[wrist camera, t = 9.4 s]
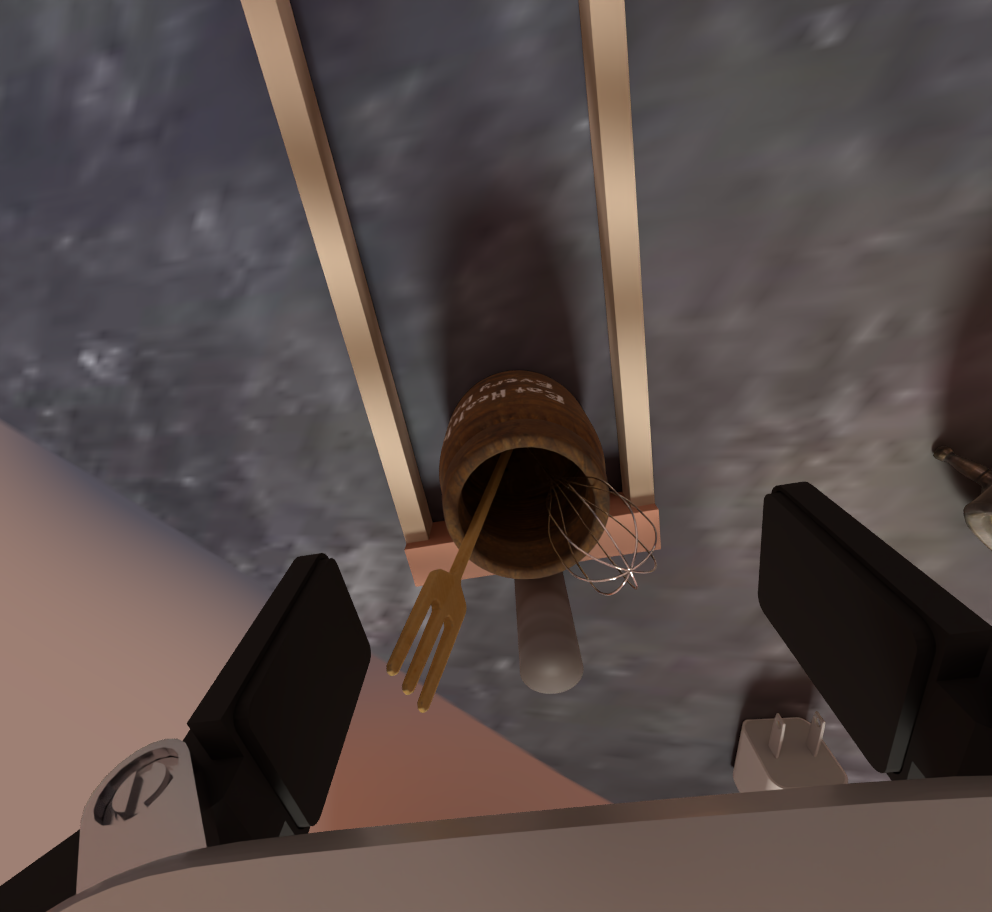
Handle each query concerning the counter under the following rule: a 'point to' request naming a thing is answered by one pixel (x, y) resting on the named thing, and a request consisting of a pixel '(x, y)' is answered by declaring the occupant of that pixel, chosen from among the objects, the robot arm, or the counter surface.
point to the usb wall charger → (784, 755)
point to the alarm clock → (987, 512)
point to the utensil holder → (511, 504)
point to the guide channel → (429, 547)
